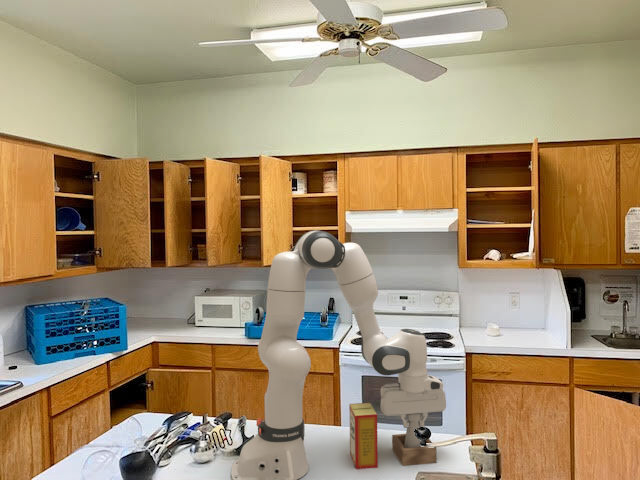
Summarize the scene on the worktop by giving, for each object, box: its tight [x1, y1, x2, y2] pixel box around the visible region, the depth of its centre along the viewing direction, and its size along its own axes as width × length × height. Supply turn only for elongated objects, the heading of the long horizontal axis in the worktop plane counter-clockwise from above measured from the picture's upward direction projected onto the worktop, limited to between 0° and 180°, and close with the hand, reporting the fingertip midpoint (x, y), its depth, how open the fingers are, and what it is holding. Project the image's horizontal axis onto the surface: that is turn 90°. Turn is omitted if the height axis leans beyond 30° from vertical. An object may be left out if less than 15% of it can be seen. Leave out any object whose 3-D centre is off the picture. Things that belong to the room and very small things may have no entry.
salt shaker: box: [404, 413, 422, 448], centre depth 137 cm, size 6×6×13 cm
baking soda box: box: [349, 402, 379, 470], centre depth 135 cm, size 10×6×16 cm
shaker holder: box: [391, 433, 437, 467], centre depth 137 cm, size 10×10×5 cm
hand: (413, 426), depth 137 cm, fingers open, 3 cm apart
